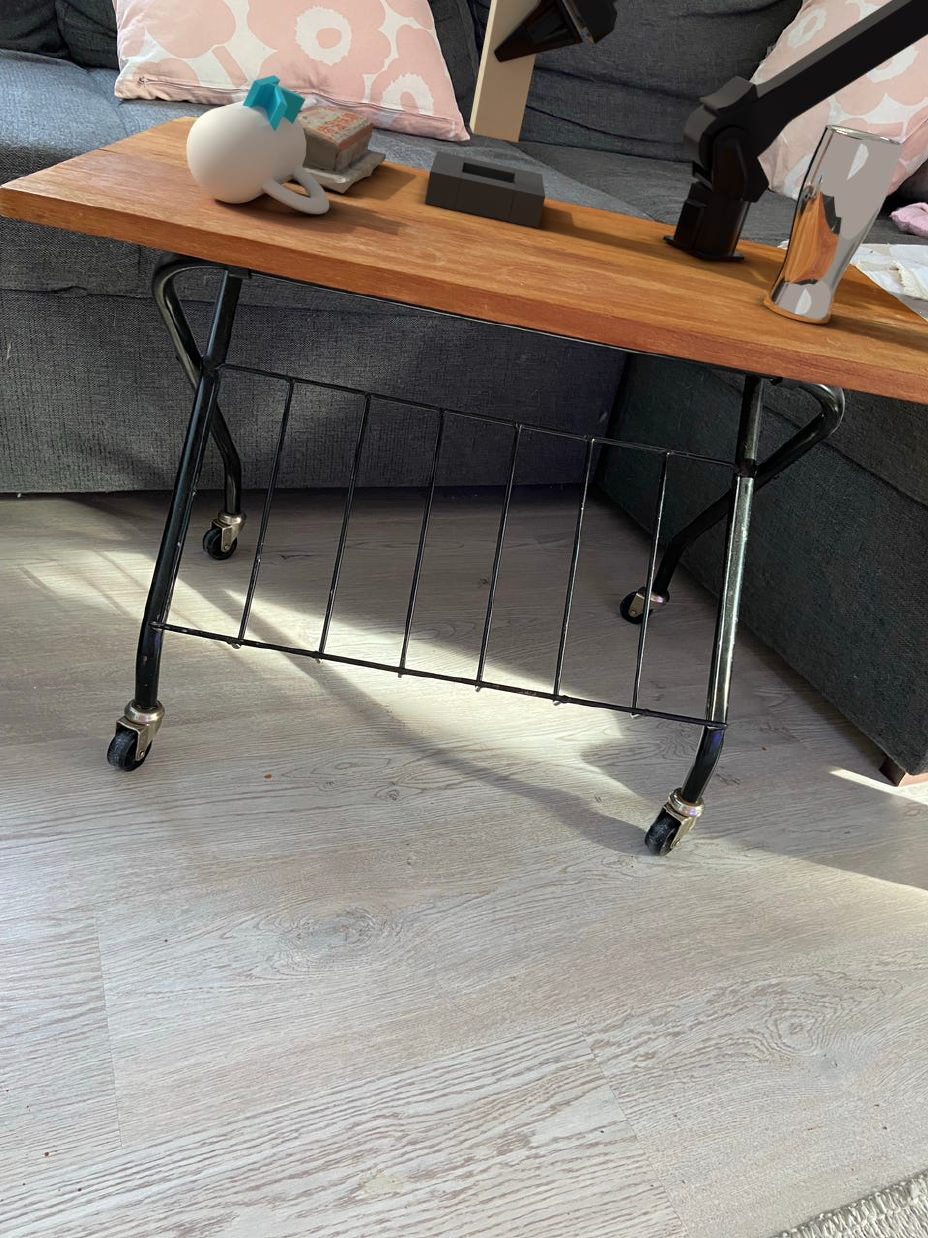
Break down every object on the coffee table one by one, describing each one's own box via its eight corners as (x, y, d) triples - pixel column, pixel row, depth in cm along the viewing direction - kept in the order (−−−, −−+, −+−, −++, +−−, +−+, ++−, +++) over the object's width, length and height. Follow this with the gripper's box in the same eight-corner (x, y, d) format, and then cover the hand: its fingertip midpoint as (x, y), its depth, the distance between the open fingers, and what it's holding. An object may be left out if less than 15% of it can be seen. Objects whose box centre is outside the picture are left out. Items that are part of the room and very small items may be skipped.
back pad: (512, 134, 98) (543, -20, 90) (517, 142, 94) (550, -17, 87) (469, 125, 97) (496, -31, 89) (472, 133, 93) (501, -28, 86)
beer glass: (744, 301, 90) (808, 121, 81) (781, 295, 94) (846, 125, 86) (811, 329, 86) (885, 144, 78) (846, 322, 91) (920, 147, 82)
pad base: (535, 203, 107) (542, 173, 105) (538, 228, 97) (545, 196, 96) (432, 180, 106) (437, 150, 104) (424, 203, 96) (430, 171, 95)
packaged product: (301, 94, 105) (392, 117, 105) (296, 143, 107) (385, 165, 107) (245, 114, 90) (351, 140, 90) (241, 170, 92) (344, 196, 92)
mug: (207, 66, 75) (261, 57, 85) (159, 171, 80) (216, 151, 90) (336, 166, 77) (374, 145, 87) (282, 263, 82) (324, 232, 92)
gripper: (578, -151, 91) (439, -37, 95) (618, -164, 75) (450, -27, 80) (634, -31, 96) (501, 72, 101) (682, -21, 81) (522, 100, 85)
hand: (493, 54), depth 91 cm, fingers closed on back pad, 4 cm apart
